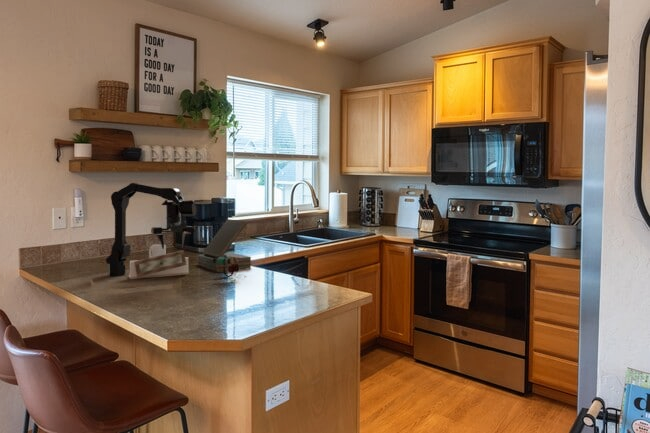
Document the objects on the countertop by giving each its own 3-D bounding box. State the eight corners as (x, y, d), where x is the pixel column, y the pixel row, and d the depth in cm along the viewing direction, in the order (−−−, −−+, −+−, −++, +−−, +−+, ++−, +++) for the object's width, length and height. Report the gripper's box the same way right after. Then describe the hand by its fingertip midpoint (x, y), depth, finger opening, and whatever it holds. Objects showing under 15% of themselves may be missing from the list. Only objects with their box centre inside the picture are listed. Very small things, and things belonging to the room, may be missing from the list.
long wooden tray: (130, 279, 215) (130, 261, 214) (128, 277, 220) (128, 259, 220) (188, 274, 228) (188, 257, 228) (185, 272, 233) (185, 256, 233)
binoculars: (221, 274, 230) (221, 253, 229) (240, 275, 227) (240, 254, 226) (211, 277, 221) (211, 255, 221) (231, 278, 218) (231, 256, 218)
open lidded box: (197, 266, 255) (197, 219, 253) (231, 263, 266) (231, 218, 265) (216, 272, 236) (215, 222, 235) (251, 268, 248) (251, 220, 247)
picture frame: (138, 277, 214) (135, 261, 213) (137, 276, 216) (134, 261, 215) (186, 265, 225) (183, 250, 224) (185, 264, 227) (182, 250, 226)
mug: (168, 267, 248) (168, 244, 248) (159, 269, 242) (159, 245, 242) (154, 266, 253) (153, 243, 252) (144, 268, 246) (144, 244, 246)
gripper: (155, 216, 210) (156, 251, 211) (197, 215, 220) (198, 249, 221) (150, 215, 220) (151, 248, 220) (191, 214, 229) (191, 246, 230)
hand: (173, 248), depth 223 cm, fingers open, 9 cm apart
